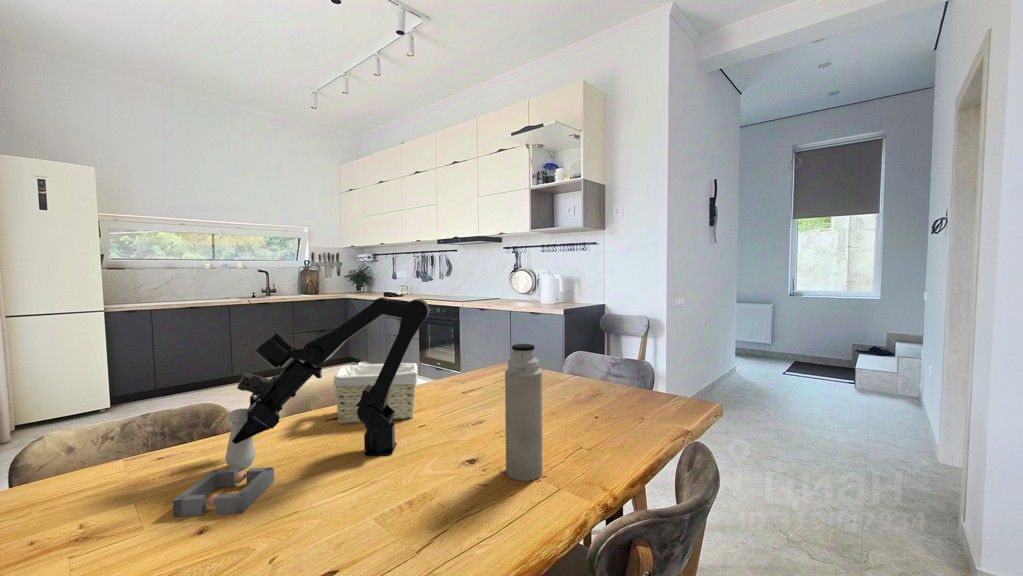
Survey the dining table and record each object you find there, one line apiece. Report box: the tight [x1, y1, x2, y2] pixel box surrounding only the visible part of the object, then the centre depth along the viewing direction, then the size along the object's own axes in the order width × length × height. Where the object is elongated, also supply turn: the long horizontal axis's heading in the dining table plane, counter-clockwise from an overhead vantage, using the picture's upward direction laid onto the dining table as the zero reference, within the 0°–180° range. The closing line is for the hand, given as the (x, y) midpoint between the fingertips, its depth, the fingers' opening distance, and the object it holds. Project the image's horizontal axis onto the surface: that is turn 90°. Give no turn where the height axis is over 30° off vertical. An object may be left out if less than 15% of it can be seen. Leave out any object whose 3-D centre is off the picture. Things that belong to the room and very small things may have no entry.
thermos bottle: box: [504, 343, 543, 482], centre depth 92 cm, size 8×8×28 cm
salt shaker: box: [224, 408, 256, 471], centre depth 96 cm, size 6×6×13 cm
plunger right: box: [234, 471, 246, 484], centre depth 88 cm, size 2×2×2 cm
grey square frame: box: [172, 466, 275, 517], centre depth 83 cm, size 12×12×3 cm
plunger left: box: [206, 492, 220, 507], centre depth 79 cm, size 2×2×2 cm
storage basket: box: [333, 362, 418, 424], centre depth 132 cm, size 24×16×15 cm
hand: (235, 435), depth 96 cm, fingers open, 9 cm apart
